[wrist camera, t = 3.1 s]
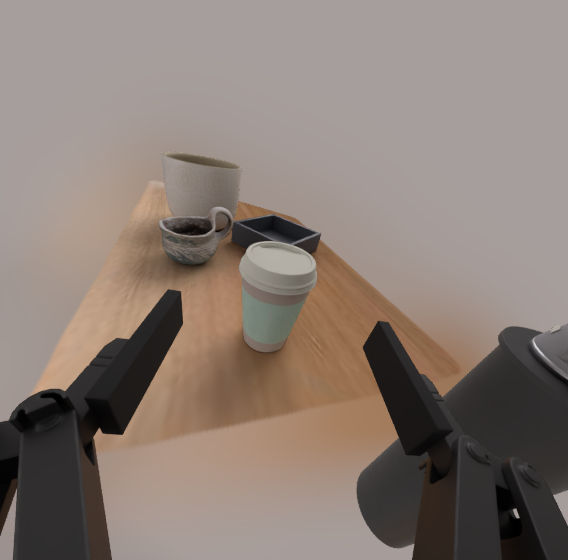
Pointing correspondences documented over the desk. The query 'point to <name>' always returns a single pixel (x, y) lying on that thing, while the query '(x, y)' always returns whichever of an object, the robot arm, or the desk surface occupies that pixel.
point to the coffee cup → (273, 291)
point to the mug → (193, 236)
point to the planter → (200, 185)
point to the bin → (274, 232)
